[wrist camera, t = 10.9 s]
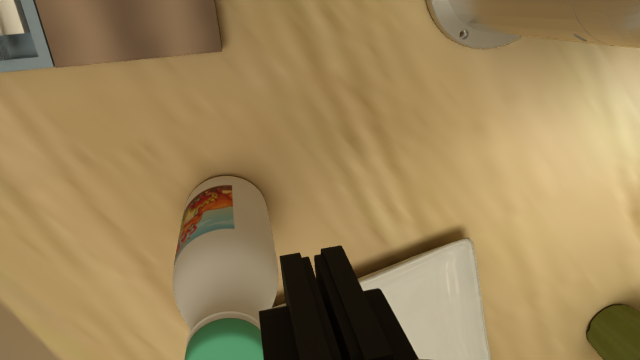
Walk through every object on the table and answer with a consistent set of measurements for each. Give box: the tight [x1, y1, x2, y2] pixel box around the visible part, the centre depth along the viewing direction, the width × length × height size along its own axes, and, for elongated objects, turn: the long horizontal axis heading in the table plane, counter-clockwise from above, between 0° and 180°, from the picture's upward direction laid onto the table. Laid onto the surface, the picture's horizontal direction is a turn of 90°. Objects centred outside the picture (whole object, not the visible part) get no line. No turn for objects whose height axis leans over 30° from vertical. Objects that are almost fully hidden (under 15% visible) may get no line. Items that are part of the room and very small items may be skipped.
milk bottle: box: [173, 176, 278, 360], centre depth 33 cm, size 8×8×20 cm
